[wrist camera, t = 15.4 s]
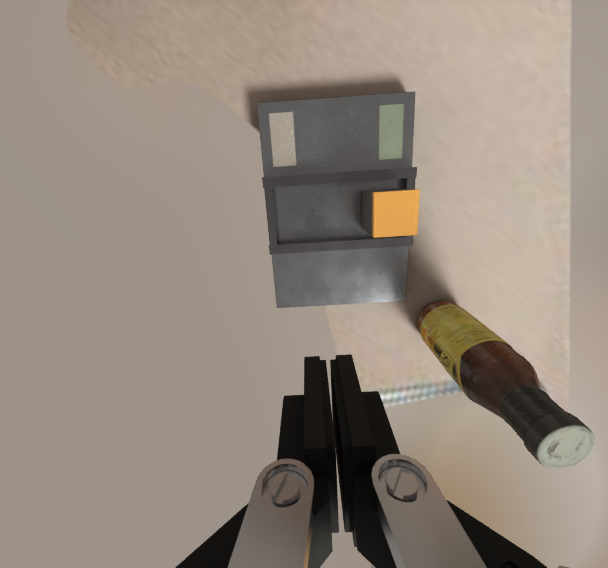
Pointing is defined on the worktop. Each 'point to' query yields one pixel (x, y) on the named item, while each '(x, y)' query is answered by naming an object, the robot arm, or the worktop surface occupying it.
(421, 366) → the worktop surface
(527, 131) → the worktop surface
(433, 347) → the sauce bottle
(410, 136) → the panel
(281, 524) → the robot arm
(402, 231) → the toggle
